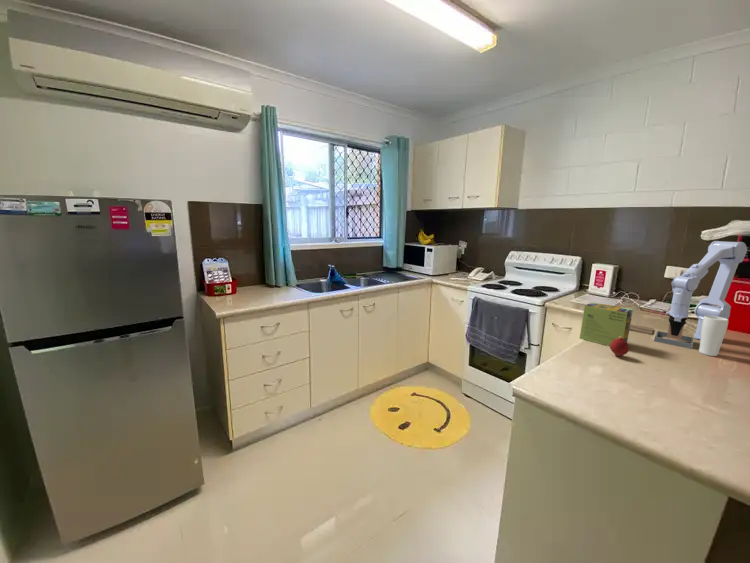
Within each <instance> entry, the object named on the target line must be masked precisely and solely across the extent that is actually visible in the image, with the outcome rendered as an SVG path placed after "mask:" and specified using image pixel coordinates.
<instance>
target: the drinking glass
mask: <svg viewBox="0 0 750 563" xmlns="http://www.w3.org/2000/svg"><path fill="white" fill-rule="evenodd" d="M728 325H729V318H728V319H726V318H722V317H717V316H704V318H703V322H702V327H701V339H699V348H698V352H699V353H700V354H702V355H705V356H710V357H718V356H719V353H720V349H721V346H722V343H723V341H724V338H725V336H726V333H727V329H728Z"/></svg>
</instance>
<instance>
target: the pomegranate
mask: <svg viewBox="0 0 750 563" xmlns="http://www.w3.org/2000/svg"><path fill="white" fill-rule="evenodd" d="M609 349H610V351H611V352H612V353H613V354H614V355H615V356H616V357H621V356H624V355H627V354H628V353H629V351H630V345H629V344H628V342H626V341H625V340H624V339H623V338H622V337H621V336H619V338H617V339H615V340H613V341H612V342H611V344H610V346H609Z"/></svg>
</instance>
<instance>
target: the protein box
mask: <svg viewBox="0 0 750 563" xmlns="http://www.w3.org/2000/svg"><path fill="white" fill-rule="evenodd" d="M633 311H634V308H630V307H629V308H628V307H623V306H617V305H612V304H605V303H599V302H590V303H587V304H585V305H584V307H583V313H582V320H581V326H580V327H581V328H580V333H579V339H580V340H583V341H587V342H591V343H595V342H596V343H595V344H599V343H600V344H599V345H603V344H604V345H603V346H607V345H608V347H610V344H611V342H612V341H613V340H615V339H617V338H619V336H621V337H622V338H623V339H624V340H625V341H626V342H627V343H628V341H629V334H630V330H629V329H630V324H631V323H632V316H633Z"/></svg>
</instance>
